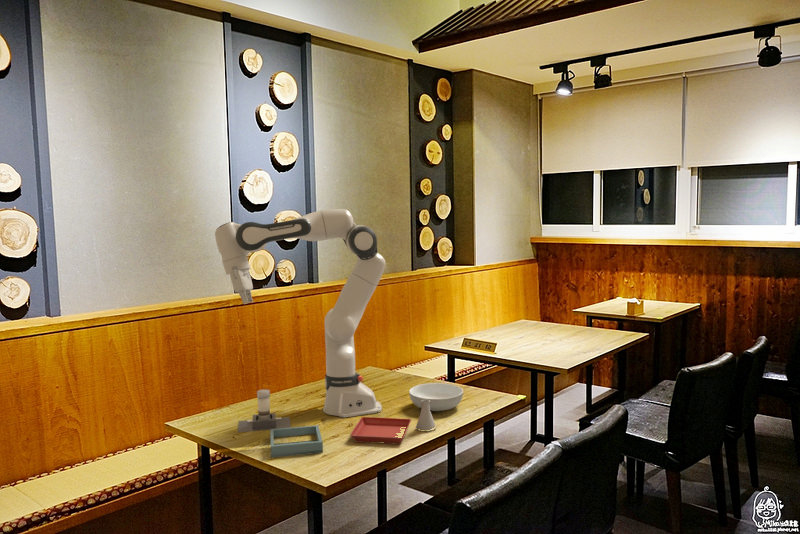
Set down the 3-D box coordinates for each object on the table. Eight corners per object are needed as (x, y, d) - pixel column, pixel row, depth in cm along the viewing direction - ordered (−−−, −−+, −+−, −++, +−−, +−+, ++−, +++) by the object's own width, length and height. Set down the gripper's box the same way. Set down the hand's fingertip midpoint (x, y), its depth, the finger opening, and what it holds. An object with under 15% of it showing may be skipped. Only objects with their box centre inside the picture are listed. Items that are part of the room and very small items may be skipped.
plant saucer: (403, 447, 200) (403, 437, 200) (349, 444, 203) (349, 434, 203) (411, 428, 218) (411, 418, 217) (361, 425, 221) (361, 416, 220)
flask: (429, 433, 211) (429, 405, 210) (411, 430, 214) (411, 402, 214) (439, 427, 217) (439, 399, 216) (421, 424, 221) (421, 396, 220)
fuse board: (289, 419, 227) (289, 410, 227) (290, 430, 216) (290, 420, 215) (239, 423, 223) (238, 414, 223) (237, 435, 212) (237, 425, 211)
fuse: (270, 421, 222) (269, 389, 221) (270, 425, 218) (269, 392, 217) (258, 422, 221) (257, 389, 220) (257, 426, 217) (256, 393, 216)
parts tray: (318, 435, 211) (318, 425, 210) (322, 452, 195) (322, 441, 195) (270, 439, 207) (270, 429, 207) (271, 457, 192) (270, 446, 191)
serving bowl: (398, 406, 241) (398, 389, 240) (439, 396, 254) (438, 380, 253) (433, 420, 225) (433, 401, 224) (474, 408, 237) (474, 391, 237)
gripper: (240, 263, 215) (252, 301, 215) (249, 264, 236) (260, 299, 236) (222, 269, 215) (234, 306, 215) (233, 269, 235) (244, 304, 235)
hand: (248, 303), depth 225 cm, fingers open, 8 cm apart
